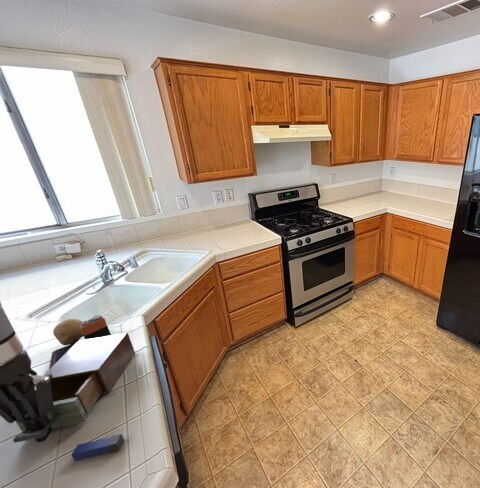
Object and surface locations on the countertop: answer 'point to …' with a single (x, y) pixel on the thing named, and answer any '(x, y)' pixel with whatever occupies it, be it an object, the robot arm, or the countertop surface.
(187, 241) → the countertop surface
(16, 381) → the robot arm
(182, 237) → the countertop surface
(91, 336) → the battery
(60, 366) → the cabinet
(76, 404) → the drawer
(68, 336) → the natural sponge
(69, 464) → the countertop surface
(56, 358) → the phone
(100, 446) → the navy blue eraser
